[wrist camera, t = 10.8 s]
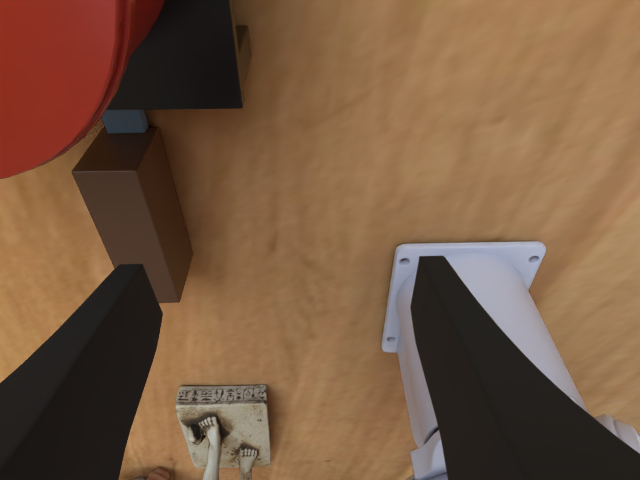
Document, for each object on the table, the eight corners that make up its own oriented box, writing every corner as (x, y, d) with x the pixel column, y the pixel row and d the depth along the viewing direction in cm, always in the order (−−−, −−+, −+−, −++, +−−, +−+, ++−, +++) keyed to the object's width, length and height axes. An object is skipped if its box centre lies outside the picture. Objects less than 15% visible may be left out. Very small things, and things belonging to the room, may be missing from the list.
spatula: (219, 253, 24) (209, 302, 21) (122, 255, 24) (100, 304, 21) (130, -158, 13) (87, -159, 10) (-51, -157, 13) (-139, -157, 10)
